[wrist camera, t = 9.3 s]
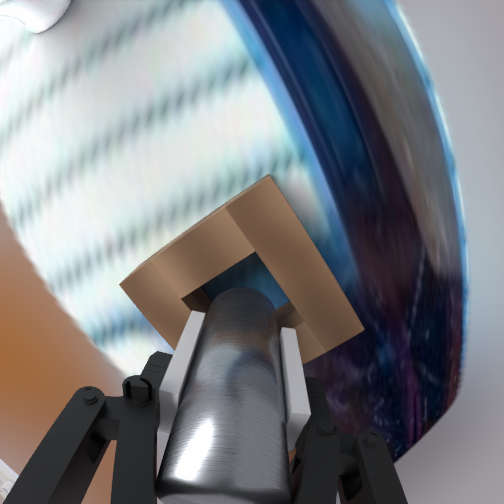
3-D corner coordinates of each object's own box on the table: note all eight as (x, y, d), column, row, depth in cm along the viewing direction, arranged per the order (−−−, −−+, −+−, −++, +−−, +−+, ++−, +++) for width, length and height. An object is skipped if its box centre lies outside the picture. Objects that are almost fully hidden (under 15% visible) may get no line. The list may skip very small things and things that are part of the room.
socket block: (268, 174, 21) (270, 176, 17) (350, 304, 24) (364, 329, 20) (139, 265, 23) (119, 284, 19) (228, 371, 26) (224, 401, 22)
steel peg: (250, 273, 18) (236, 460, 6) (288, 325, 19) (315, 508, 7) (195, 308, 19) (127, 482, 7) (234, 354, 20) (213, 528, 8)
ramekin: (1, 473, 49) (-4, 482, 44) (23, 487, 49) (18, 497, 44) (15, 487, 52) (10, 496, 47) (37, 500, 52) (32, 510, 47)
